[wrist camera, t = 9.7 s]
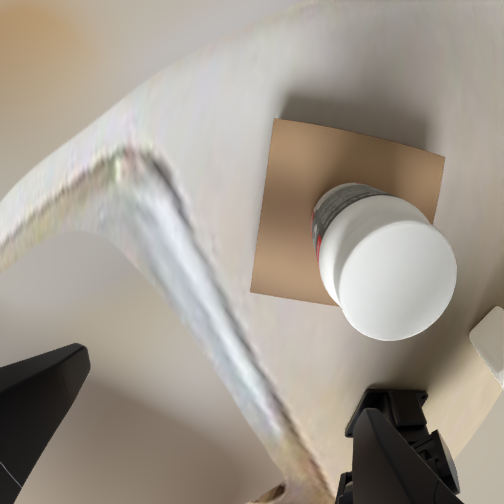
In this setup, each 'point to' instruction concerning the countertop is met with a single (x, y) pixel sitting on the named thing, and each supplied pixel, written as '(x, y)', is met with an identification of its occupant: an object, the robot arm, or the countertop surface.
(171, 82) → the countertop surface
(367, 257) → the pill bottle
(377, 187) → the brown square block
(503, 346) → the pepper shaker
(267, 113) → the countertop surface
